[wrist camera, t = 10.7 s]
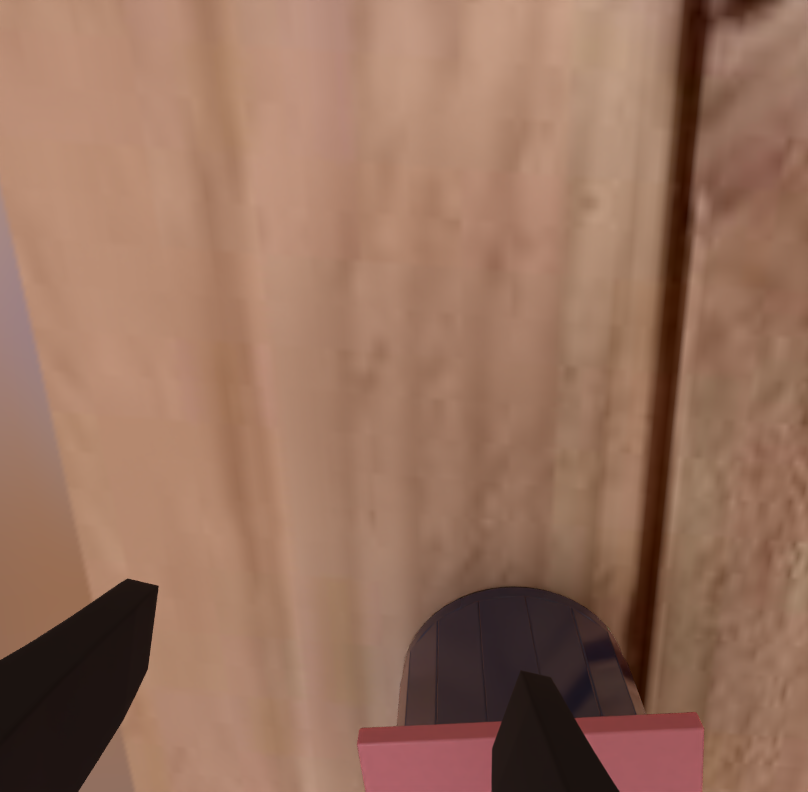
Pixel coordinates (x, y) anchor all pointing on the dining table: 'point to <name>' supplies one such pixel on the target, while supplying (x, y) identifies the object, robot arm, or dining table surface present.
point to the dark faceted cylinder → (512, 659)
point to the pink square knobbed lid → (472, 742)
